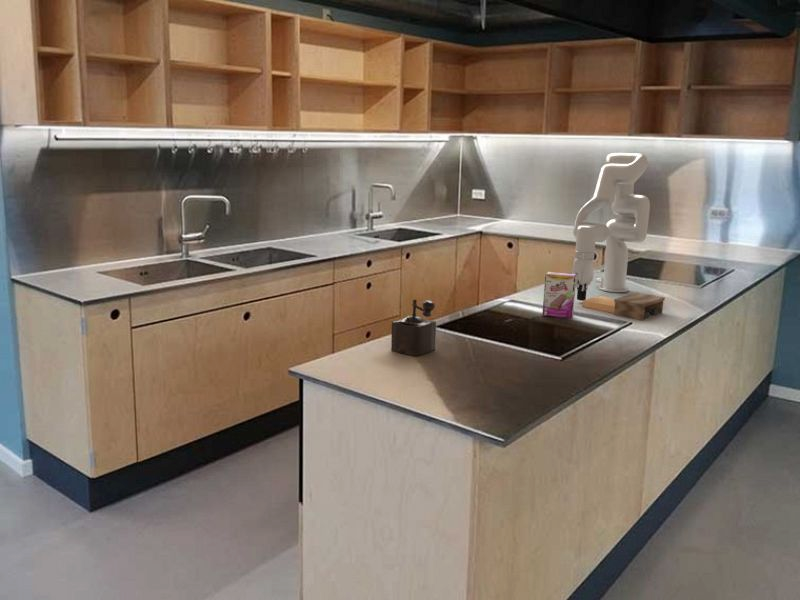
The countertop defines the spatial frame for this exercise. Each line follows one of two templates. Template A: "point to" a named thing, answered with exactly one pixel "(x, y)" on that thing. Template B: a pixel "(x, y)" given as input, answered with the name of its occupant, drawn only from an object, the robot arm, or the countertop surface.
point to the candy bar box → (559, 295)
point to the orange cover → (600, 304)
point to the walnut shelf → (638, 305)
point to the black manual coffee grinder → (414, 332)
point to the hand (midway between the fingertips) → (581, 299)
